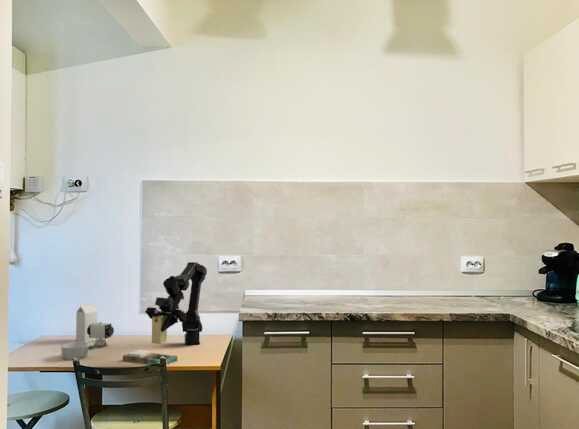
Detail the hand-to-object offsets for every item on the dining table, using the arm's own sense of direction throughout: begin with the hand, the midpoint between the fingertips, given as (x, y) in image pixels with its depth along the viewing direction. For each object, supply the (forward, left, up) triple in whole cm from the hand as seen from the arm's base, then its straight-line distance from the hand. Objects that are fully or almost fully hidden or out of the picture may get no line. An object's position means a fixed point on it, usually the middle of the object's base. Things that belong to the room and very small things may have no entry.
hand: (157, 330), depth 208 cm
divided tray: (+2, -5, -14) cm, 15 cm away
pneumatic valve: (+21, -40, -14) cm, 47 cm away
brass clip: (-1, -1, -5) cm, 5 cm away
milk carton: (+27, -55, -14) cm, 62 cm away
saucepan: (+28, -22, -14) cm, 39 cm away
